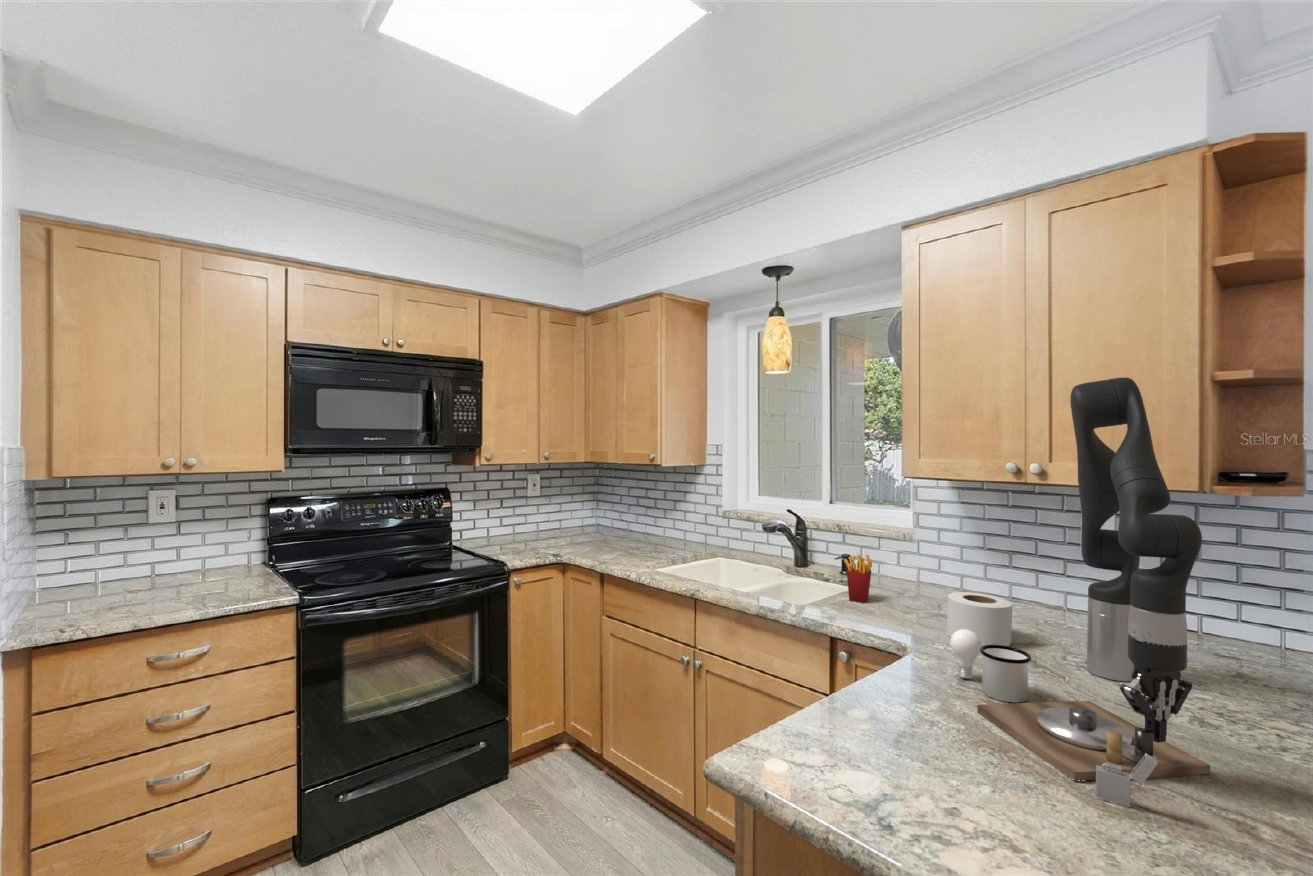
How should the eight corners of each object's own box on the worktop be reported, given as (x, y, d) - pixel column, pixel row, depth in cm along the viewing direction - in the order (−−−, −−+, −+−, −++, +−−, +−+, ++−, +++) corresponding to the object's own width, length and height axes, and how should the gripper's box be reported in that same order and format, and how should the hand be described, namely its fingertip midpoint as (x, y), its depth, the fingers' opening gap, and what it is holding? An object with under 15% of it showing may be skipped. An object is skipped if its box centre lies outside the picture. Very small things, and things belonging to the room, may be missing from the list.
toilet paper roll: (998, 631, 171) (999, 593, 171) (1021, 650, 156) (1022, 608, 156) (939, 627, 174) (940, 589, 174) (956, 645, 158) (957, 604, 158)
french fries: (866, 604, 196) (867, 558, 196) (840, 600, 201) (841, 554, 200) (873, 598, 203) (874, 553, 203) (848, 594, 208) (849, 550, 208)
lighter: (1095, 798, 91) (1096, 745, 91) (1095, 792, 93) (1096, 740, 93) (1156, 815, 87) (1157, 760, 87) (1155, 809, 89) (1156, 755, 89)
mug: (1023, 709, 121) (1024, 664, 121) (972, 694, 128) (973, 651, 128) (1039, 692, 130) (1039, 649, 130) (990, 679, 137) (991, 638, 136)
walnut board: (1088, 708, 122) (1089, 678, 122) (1210, 774, 98) (1210, 737, 98) (977, 712, 120) (977, 682, 120) (1074, 781, 96) (1075, 743, 96)
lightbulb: (985, 685, 133) (986, 635, 133) (953, 682, 134) (954, 633, 134) (976, 674, 139) (976, 626, 139) (946, 672, 140) (947, 624, 140)
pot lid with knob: (1018, 717, 114) (1018, 691, 114) (1076, 709, 118) (1076, 684, 118) (1118, 771, 96) (1118, 739, 96) (1183, 759, 100) (1183, 729, 100)
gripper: (1163, 624, 105) (1162, 724, 105) (1103, 631, 102) (1102, 734, 102) (1212, 639, 98) (1211, 746, 98) (1149, 647, 95) (1148, 757, 95)
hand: (1155, 739), depth 100 cm, fingers closed
